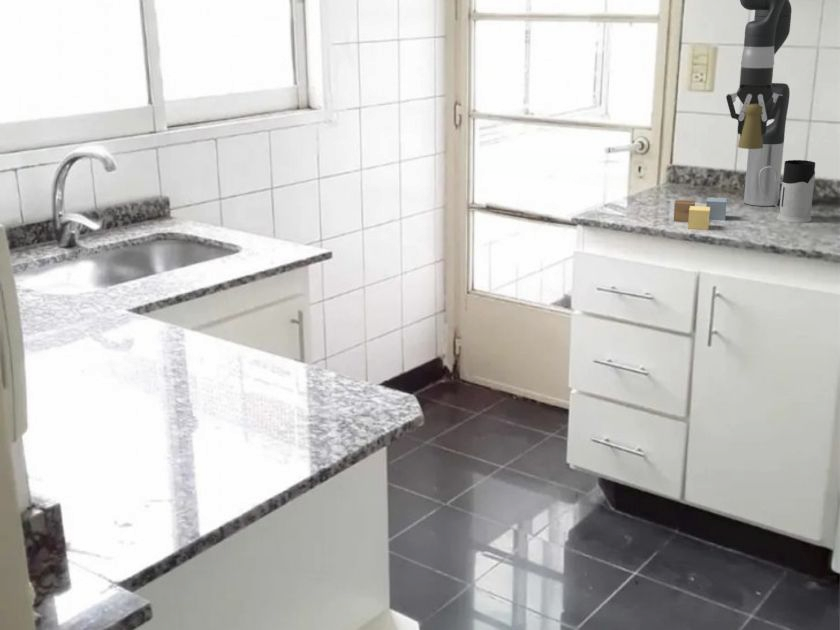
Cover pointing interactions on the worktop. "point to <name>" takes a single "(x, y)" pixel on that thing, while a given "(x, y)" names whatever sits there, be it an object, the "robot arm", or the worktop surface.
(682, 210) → the walnut block
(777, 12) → the robot arm
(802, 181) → the glass holder
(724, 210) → the slate block
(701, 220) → the mustard block
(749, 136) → the cork
